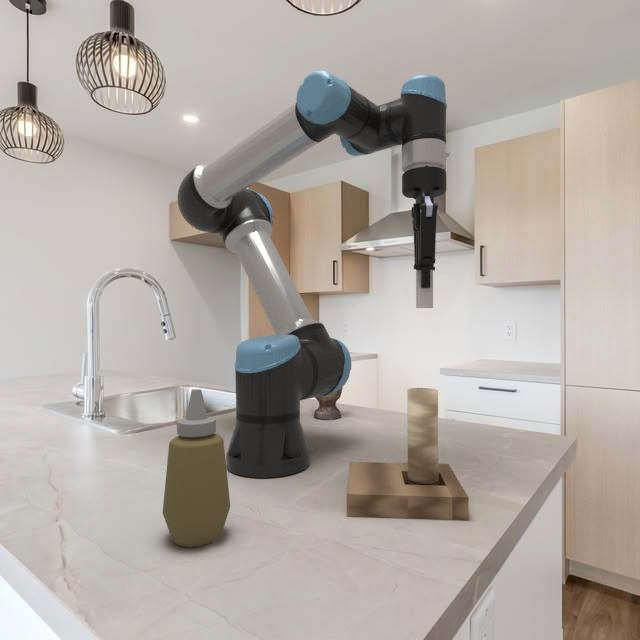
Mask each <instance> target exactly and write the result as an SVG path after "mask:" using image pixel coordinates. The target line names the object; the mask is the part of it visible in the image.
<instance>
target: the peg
mask: <svg viewBox="0 0 640 640" xmlns="http://www.w3.org/2000/svg"><path fill="white" fill-rule="evenodd" d="M406 390H407V392H406V393H407V397H406V398H407V400H406V401H407V463H408V485H436V486H438V482H439V477H438V464H439V390H438V389H435V388H428V387H413V388H412V387H411V388H408V389H406Z"/></svg>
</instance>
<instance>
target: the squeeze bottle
mask: <svg viewBox="0 0 640 640" xmlns="http://www.w3.org/2000/svg"><path fill="white" fill-rule="evenodd" d="M205 404H206V403H205V400H204V396H203V391H202V388H201V389H200V388H199V389H191V392H190V395H189V401H188V405H187V410H186V416H185V417H182V418H180V419H178V420H177V421H176V434H177V436H175V437H174V438H173V439H171V440H170V441H169V444H168V451H167V452H168V454H167V464H166V471H165V472H166V473H165V483H164V491H163V492H164V494H163V504H162V515H163V518H164V521H165V524H166V527H167V529H168V531H169V534H170V536H171V540H172V541H173V542H174V544H176V545H178V546H180V547H188V548H193V547H194V548H195V547H203V546H205V545H209V544H212V543H213V542H215V541H217V540H218V539H220V537H221V536H222V535H223V531H224V528H225V524H226V522H227V519H228V515H229V512H230V509H231V498H230V489H229V481H228V479H229V478H228V469H227V466H226V452H225V444H224V442H225V441H224V438H223V437H222V435H220V434H218V433H216V431H217V425H216V424H217V419H216V418H215V417H213V416H208V414H207V410H206V405H205Z"/></svg>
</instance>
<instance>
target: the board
mask: <svg viewBox="0 0 640 640" xmlns="http://www.w3.org/2000/svg"><path fill="white" fill-rule="evenodd" d="M347 475H348V476H347V486H346V487H347V489H346V517H355V518H357V517H358V518H359V517H360V518H387V519H391V518H392V519H416V520H417V519H420V520H421V519H422V520H446V521H447V520H449V521H470V520H469V518H470V516H469V514H470V513H469V511H470V510H469V506H470V505H469V495H467V493H466V491H465V489H464V487H463V486H462V484H461V482H460V480H458V478H457V475H456V474H455V472H454V471H453V469H452V467H451V466H450V464H449V463H438V477H439V482H438V486H436V485H408V462H384V461H382V462H377V461H376V462H375V461H349V462H348V474H347Z"/></svg>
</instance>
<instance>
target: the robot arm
mask: <svg viewBox="0 0 640 640" xmlns="http://www.w3.org/2000/svg"><path fill="white" fill-rule="evenodd" d="M400 90H401V93H400V98H396V99H394V100H391V101H389V102H385V103H382V104H379V105H377V104H376V103H375V102H373V101H372V100H370V99H368V97H365V96H364V95H363V94H361V93H359V92H358V91H356V89H354V88H353V87H351V86H350V85H349V84H348V83H347V82H346V81H345V80H344V79H342V78H340V77H338V76H335V75H334V74H332V73H330V72H328V71H327V70H315V71H312V72H311V73H309V74H308V75H307V76H306V77H304V79H303V82H302V84H301V85H299V87H298V90H297V92H296V102H294V103H293V104H291V105H290V106H288V107H287V108H286V109H285V110H283V111H282V112H280V113H279V114H278V115H276V116H275V117H274V118H272V119H271V120H269V121H268V122H266V123H265V124H264V125H262V126H261V127H259V128H258V129H257V130H255V131H254V132H252V133H251V134H250V135H248V136H247V137H246V138H244V139H243V140H241V141H240V142H239V143H237V144H236V145H234V146H233V147H232V148H230V149H228V150H227V151H226V152H224V153H223V154H222V155H221V156H218V158H216V159H215V160H214V161H212V162H211V163H201V164H199V165H197V166H196V167H194V169H192V170H191V171H190V172H189V173H187V174H186V175H185V177H183V179H182V181H181V182H180V185H179V188H178V191H177V207H178V210H179V212H180V214H181V216H182V218H183V219H184V221H186V223H188V225H190V226H191V227H192V228H194V229H195V230H199V231H201V232H206V233H210V234H216V235H219V236H220V237H221V239H222V242H223V243H224V245H225V248H226V249H227V250H228V251H230V253H234V254H236V255H237V257H238V259H239V261H240V263H241V265H242V268H243V270H244V271H245V274H246V276H247V278H248V280H249V282H250V284H251V286H252V288H253V291H254V292H255V295H256V298H257V299H258V301H259V303H260V306H261V307H262V309H263V311H264V313H265V316H266V317H267V320H268V322H269V324H270V326H271V328H272V330H273V332H274V334H273V335H272V334H271V335H263V336H257V337H256V336H255V337H252V338H248V339H246V340H243V341H241V342H240V343H239V344H238V345H237V347H236V351H235V352H236V354H235V362H234V370H235V371H234V372H235V374H234V375H235V425H234V430H233V433H232V434H231V435H232V436H231V439H230V441H229V445H228V448H227V451H226V455H225V460H226V469H227V471H229V472H231V473H233V474H235V475H238V476H242V477H246V478H247V477H248V478H277V477H284V476H285V477H286V476H289V475H290V476H291V475H293V474H297V473H300V472H302V471H304V470H306V469H307V468H308V467H309V466H310V463H311V462H310V461H311V460H310V459H311V457H310V454H311V453H310V448H309V445H308V441H307V439H306V435H305V433H304V430H303V426H302V424H301V401H304V400H308V399H312V398H315V397H318V396H327V395H329V394H330V393H333V392H336V391H338V390H339V389H341V388H342V387H344V386H345V385H346V384H347V382H348V381H349V379H350V373H351V370H352V358H351V354H350V352H349V349H348V347H347V346H346V344H344V343H343V342H342V341H341V340H338V339H336V338H333V337H331V336H330V335H329V332H328V331H327V329H326V326H325V325H324V323H323V322H321V321H317V320H314V319H313V316H311V314H310V312H309V310H308V308H307V306H306V304H305V302H304V300H303V298H302V295H301V294H300V292H299V291H298V288H297V287H296V284H295V282H294V281H293V279H292V277H291V275H290V273H289V271H288V269H287V267H286V265H285V263H284V262H283V259H282V258H281V256H280V254H279V251H278V249H277V248H276V246H275V244H274V242H273V240H272V238H271V236H272V233H273V225H274V223H273V222H274V220H272V219H273V217H274V212H273V211H274V210H273V209H272V205H271V204H270V201H269V200H268V199H267V198H266V197H265V196H264V195H263V194H261V193H259V192H257V191H255V190H253V189H250V188H249V187H251V186H252V185H254V184H256V183H257V182H259V181H261V180H262V179H264V178H265V177H267V176H269V175H270V174H271V173H273V172H275V171H276V170H278V169H280V168H281V167H283V166H284V165H286V164H288V163H289V162H291V161H292V160H294V159H295V158H297V157H299V156H300V155H302V154H303V153H305V152H307V151H308V150H310V149H311V148H313V147H315V146H316V145H317V144H319V143H321V142H323V141H325V140H326V139H328V138H329V137H331V136H332V135H336V136H338V137H339V140H340V143H341V146H342V148H344V149H345V152H346V153H347V154H348V155H350V156H352V157H353V156H354V157H357V156H365V155H371V154H374V153H375V152H379V151H383V150H388V149H390V148H393V147H397V146H401V151H400V152H401V172H402V175H401V194H402V196H403V197H406V198H407V199H413V200H415V203H413V204H412V207H411V218H412V231H413V249H414V250H413V253H414V263H413V264H414V265H413V270H415V308H416V309H433V308H434V272H435V271H436V266H435V264H436V261H437V260H436V239H437V237H436V236H437V215H438V209H439V205H438V203H437V202H435V198H437V197H440V196H442V195H445V193H446V192H447V189H448V187H447V171H446V170H445V169H446V167H447V158H448V157H450V151H448V150H446V149H447V109H448V104H447V97H446V85H445V82H444V81H443V79H442V78H440V77H438V76H437V75H433V74H419V75H414V76H412V77H410V78H409V79H408V80H407V81H404V82H403V84H402V85H401V89H400Z"/></svg>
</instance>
